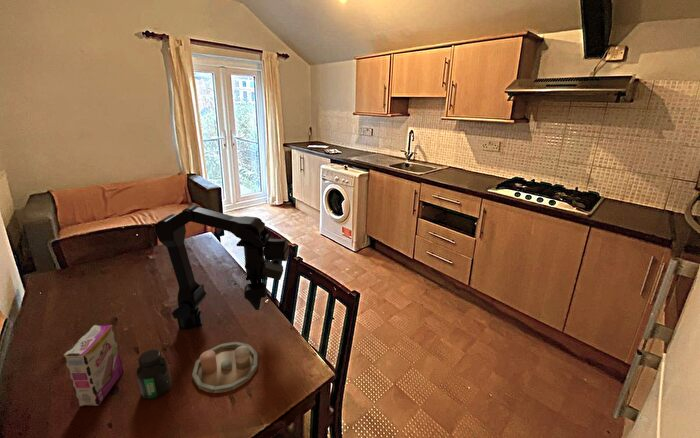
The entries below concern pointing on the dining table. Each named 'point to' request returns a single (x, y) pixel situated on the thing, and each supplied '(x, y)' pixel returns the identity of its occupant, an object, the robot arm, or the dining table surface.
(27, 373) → the dining table surface
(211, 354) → the terracotta bead
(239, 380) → the ring dish
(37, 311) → the dining table surface
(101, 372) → the candy bar box
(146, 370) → the supplement bottle
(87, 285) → the dining table surface
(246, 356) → the maple bead
